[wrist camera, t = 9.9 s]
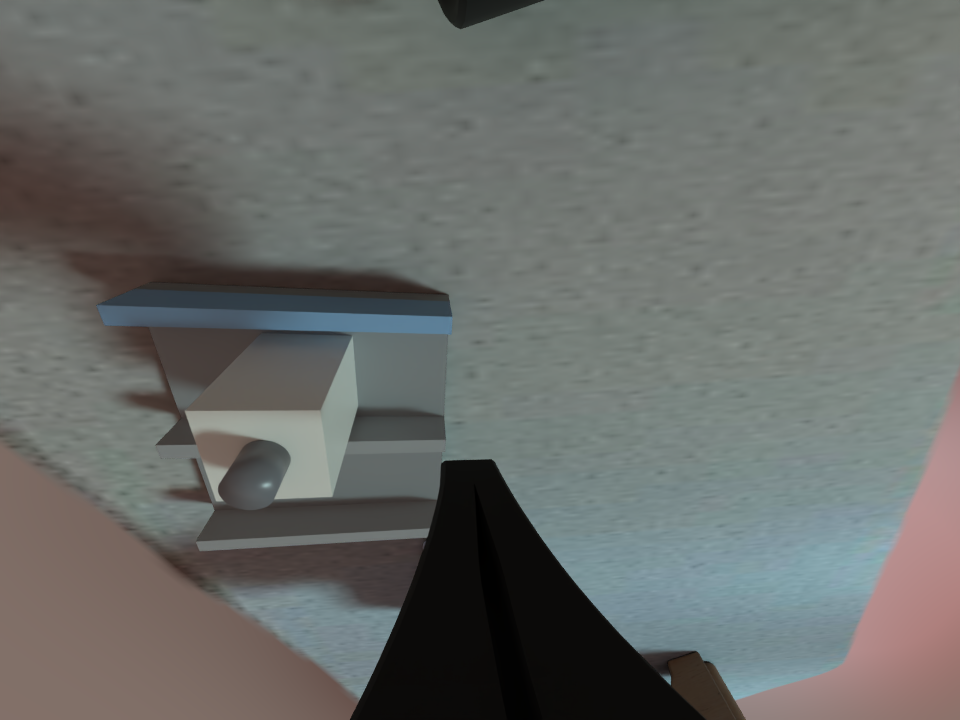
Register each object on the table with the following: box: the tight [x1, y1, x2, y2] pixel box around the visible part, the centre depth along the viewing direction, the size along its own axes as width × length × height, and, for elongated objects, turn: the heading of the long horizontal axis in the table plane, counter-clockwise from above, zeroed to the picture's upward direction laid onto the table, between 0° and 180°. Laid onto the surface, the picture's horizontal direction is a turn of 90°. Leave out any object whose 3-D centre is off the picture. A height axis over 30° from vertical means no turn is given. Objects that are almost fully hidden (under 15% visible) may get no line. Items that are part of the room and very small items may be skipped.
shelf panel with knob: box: [96, 282, 452, 551], centre depth 19 cm, size 14×13×3 cm
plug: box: [185, 333, 358, 510], centre depth 15 cm, size 4×4×8 cm
